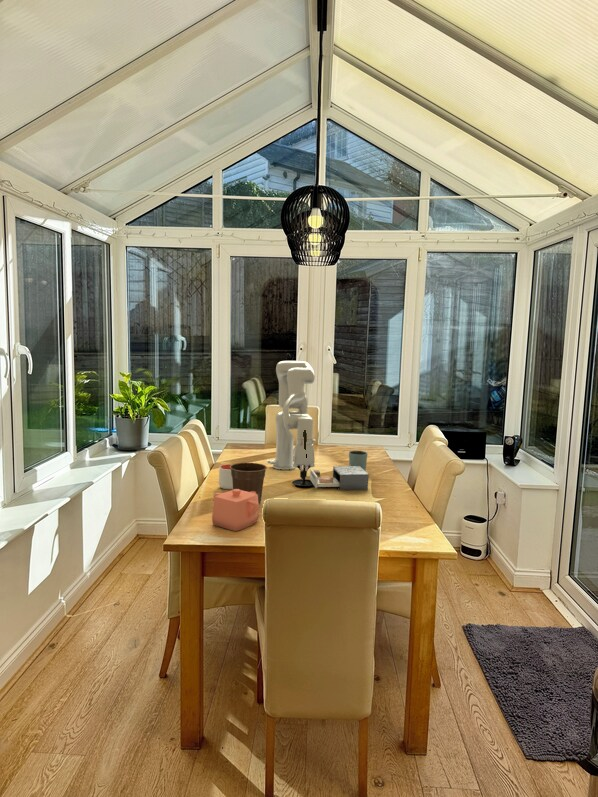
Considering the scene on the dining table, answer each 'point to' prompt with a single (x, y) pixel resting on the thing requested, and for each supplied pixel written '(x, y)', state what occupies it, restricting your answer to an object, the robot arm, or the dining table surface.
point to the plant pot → (248, 477)
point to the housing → (351, 477)
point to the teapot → (235, 509)
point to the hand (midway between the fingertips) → (303, 478)
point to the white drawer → (316, 483)
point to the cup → (225, 477)
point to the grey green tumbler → (358, 459)
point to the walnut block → (317, 473)
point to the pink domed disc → (325, 479)
